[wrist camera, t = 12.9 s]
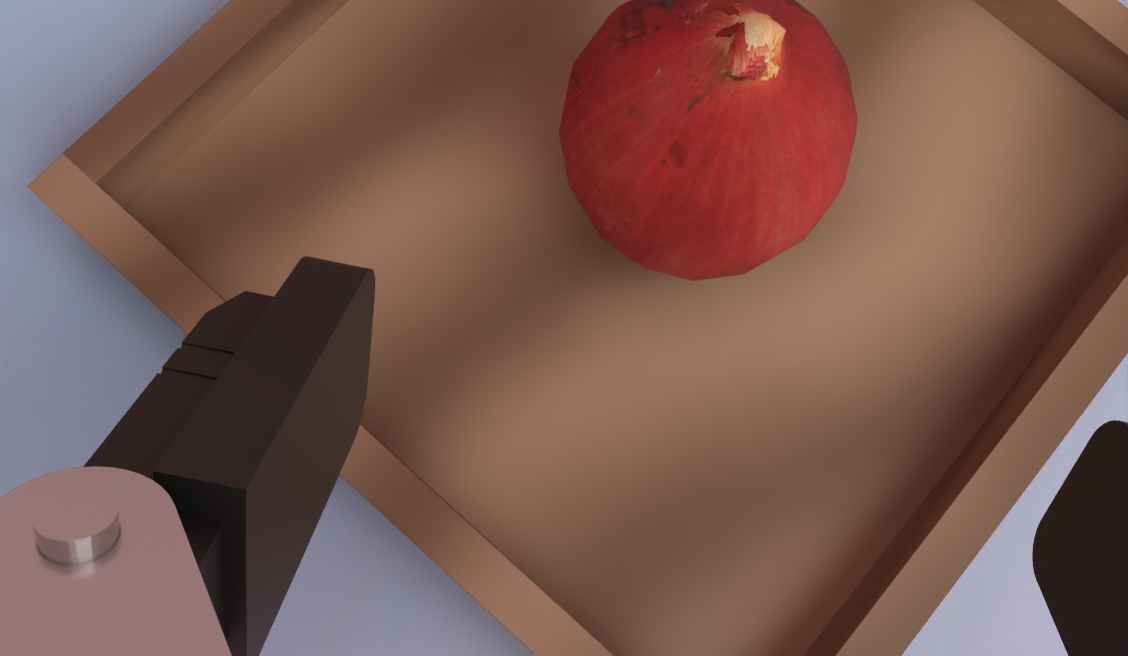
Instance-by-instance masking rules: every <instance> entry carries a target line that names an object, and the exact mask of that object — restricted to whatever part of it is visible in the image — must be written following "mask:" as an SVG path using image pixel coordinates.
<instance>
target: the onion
mask: <svg viewBox="0 0 1128 656" xmlns="http://www.w3.org/2000/svg"><path fill="white" fill-rule="evenodd" d="M857 121H858V117H857V112H856V107H855V101H854V96H853V91H852V86H851V81H850V75H849V70H848V66H847V64H846V62H845V59H844V58H843V56H842V54H841V53H840V51H839V50H838V48H837V47H836V45H835V43H834V42H833V40H832V39H831V37H830V36H829V34H828V32H827V31H826V29H825V28H824V26H823V25H822V23H821V22H820V20H819V18H818V17H816V16H815V15H814V14H812V13H811V12H810V11H809V10H807V9H806V8H805V7H803V6H802V5H801V4H800V3H798V2H797V1H796V0H630V1H628V2H626V3H624V4H622V5H620V6H619V7H617V8H616V9H615V10H614V11H613V12H612V13H611V14H610V15H609V16H608V18H607V19H606V20H605V22H604V23H603V24H602V26H601V27H600V28H599V30H598V31H597V32H596V34H595V35H594V36H593V38H592V39H591V40H590V42H589V43H588V44H587V46H586V47H585V48H584V49H583V51H582V52H581V53H580V55H579V56H578V57H577V59H576V60H575V61H574V63H573V67H572V71H571V74H570V78H569V83H568V88H567V93H566V98H565V103H564V108H563V113H562V118H561V123H560V129H559V137H560V142H561V147H562V152H563V158H564V163H565V168H566V173H567V178H568V183H569V186H570V188H571V190H572V192H573V194H574V196H575V197H576V199H577V201H578V202H579V204H580V205H581V207H582V209H583V210H584V212H585V214H586V215H587V217H588V218H589V220H590V222H591V223H592V225H593V227H594V228H595V230H596V231H597V233H598V235H599V236H600V237H601V238H602V239H603V240H605V241H606V242H608V243H609V244H610V245H612V246H613V247H614V248H616V249H617V250H619V251H620V252H621V253H623V254H624V255H626V256H627V257H628V258H630V259H631V260H633V261H634V262H635V263H637V264H638V265H639V266H641V267H643V268H647V269H650V270H654V271H658V272H661V273H665V274H669V275H672V276H676V277H679V278H683V279H687V280H690V281H698V280H705V279H713V278H720V277H727V276H735V275H742V274H746V273H747V272H749V271H751V270H753V269H754V268H756V267H758V266H760V265H761V264H763V263H765V262H767V261H768V260H770V259H772V258H774V257H775V256H777V255H779V254H781V253H782V252H784V251H786V250H788V249H789V248H791V247H793V246H795V245H796V244H798V243H800V242H802V241H803V240H805V238H806V237H807V236H808V234H809V233H810V232H811V231H812V229H813V228H814V227H815V225H816V224H817V223H818V222H819V220H820V219H821V218H822V216H823V215H824V214H825V213H826V211H827V210H828V209H829V207H830V206H831V205H832V204H833V202H834V201H835V199H836V198H837V196H838V194H839V192H840V191H841V189H842V187H843V185H844V184H845V180H846V176H847V171H848V167H849V163H850V158H851V154H852V150H853V145H854V141H855V137H856V132H857Z"/></svg>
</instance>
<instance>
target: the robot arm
mask: <svg viewBox="0 0 1128 656" xmlns="http://www.w3.org/2000/svg"><path fill="white" fill-rule="evenodd" d="M374 299H375V274H374V271H373V270H372V269H369V268H364V267H359V266H354V265H349V264H344V263H339V262H334V261H329V260H324V259H319V258H314V257H309V256H304V257H302V258H301V259H300V260H299V262H298V263H297V265H296V266H295V267H294V269H293V270H292V272H291V273H290V275H289V276H288V277H287V279H286V280H285V282H284V283H283V285H282V286H281V288H280V289H279V290H278V292H277V293H276V295H275V296H269V295H264V294H259V293H254V292H249V291H244V292H243V293H241V294H239V295H237V296H235V297H233V298H232V299H230V300H228V301H226V302H224V303H222V304H220V305H219V306H217V307H215V308H213V309H211V310H209V311H208V312H206V313H205V314H204V315H203V317H202V318H201V319H200V320H199V322H198V323H197V324H196V326H195V327H194V328H193V329H192V331H191V332H190V333H189V334H188V336H187V337H186V338H185V339H184V341H183V342H182V347H181V349H180V348H177V349H176V351H175V352H174V353H173V355H172V356H171V357H170V358H169V360H168V361H167V362H166V363H165V365H164V366H163V369H162V373H161V374H158V373H157V375H156V376H155V377H154V378H153V380H152V381H151V382H150V384H149V385H148V386H147V387H146V389H145V390H144V391H143V392H142V394H141V395H140V396H139V397H138V399H137V400H136V401H135V402H134V404H133V405H132V406H131V407H130V409H129V410H128V411H127V413H126V414H125V415H124V416H123V418H122V419H121V420H120V421H119V423H118V424H117V425H116V426H115V428H114V429H113V430H112V431H111V433H110V434H109V435H108V436H107V438H106V439H105V440H104V442H103V443H102V444H101V445H100V447H99V448H98V449H97V450H96V452H95V453H94V454H93V455H92V457H91V458H90V459H89V460H88V462H87V463H86V464H85V466H84V467H79V468H72V469H66V470H61V471H57V472H54V473H50V474H46V475H43V476H41V477H38V478H36V479H33V480H30V481H28V482H26V483H24V484H22V485H20V486H19V487H17V488H15V489H13V490H12V491H10V492H9V493H7V494H6V495H4V496H3V497H1V498H0V656H259V654H260V651H261V649H262V647H263V645H264V642H265V640H266V638H267V636H268V634H269V631H270V629H271V627H272V625H273V622H274V620H275V618H276V616H277V613H278V611H279V609H280V607H281V604H282V602H283V600H284V598H285V595H286V593H287V591H288V589H289V586H290V584H291V582H292V580H293V577H294V575H295V573H296V571H297V568H298V566H299V564H300V562H301V559H302V557H303V555H304V553H305V550H306V548H307V546H308V544H309V541H310V539H311V537H312V535H313V532H314V530H315V528H316V526H317V523H318V521H319V519H320V517H321V514H322V512H323V510H324V508H325V505H326V503H327V501H328V499H329V496H330V494H331V492H332V490H333V487H334V485H335V483H336V481H337V479H338V476H339V474H340V472H341V470H342V467H343V465H344V463H345V461H346V458H347V456H348V454H349V452H350V449H351V447H352V445H353V443H354V440H355V438H356V435H357V432H358V429H359V426H360V422H361V418H362V414H363V410H364V405H365V400H366V394H367V386H368V375H369V363H370V350H371V337H372V325H373V312H374ZM1033 569H1034V573H1035V577H1036V580H1037V582H1038V585H1039V587H1040V589H1041V592H1042V594H1043V597H1044V599H1045V601H1046V604H1047V606H1048V608H1049V611H1050V613H1051V616H1052V618H1053V620H1054V623H1055V625H1056V627H1057V630H1058V632H1059V634H1060V637H1061V639H1062V642H1063V644H1064V646H1065V649H1066V651H1067V653H1068V656H1128V423H1127V422H1122V421H1115V420H1114V421H1109V422H1107V423H1105V424H1103V425H1102V426H1100V427H1099V428H1098V429H1097V430H1096V431H1095V433H1094V434H1093V435H1092V437H1091V438H1090V440H1089V442H1088V443H1087V445H1086V447H1085V448H1084V450H1083V452H1082V453H1081V455H1080V457H1079V458H1078V460H1077V462H1076V463H1075V465H1074V466H1073V468H1072V470H1071V471H1070V473H1069V475H1068V476H1067V478H1066V480H1065V481H1064V483H1063V485H1062V486H1061V488H1060V490H1059V491H1058V493H1057V495H1056V496H1055V498H1054V499H1053V501H1052V503H1051V504H1050V506H1049V508H1048V509H1047V511H1046V513H1045V514H1044V516H1043V518H1042V519H1041V521H1040V523H1039V526H1038V528H1037V531H1036V534H1035V538H1034V544H1033Z"/></svg>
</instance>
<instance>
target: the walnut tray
mask: <svg viewBox="0 0 1128 656" xmlns="http://www.w3.org/2000/svg"><path fill="white" fill-rule="evenodd" d="M628 1H630V0H231V1H230V2H229V3H227V4H226V5H225V6H224V7H223V8H222V9H221V10H220V11H219V12H218V13H216V14H215V15H214V16H213V17H212V18H211V19H210V20H209V21H208V22H207V23H205V24H204V25H203V26H202V27H201V28H200V29H199V30H198V31H197V32H196V33H195V34H193V35H192V36H191V37H190V38H189V39H188V40H187V41H186V42H185V43H184V44H182V45H181V46H180V47H179V48H178V49H177V50H176V51H175V52H174V53H173V54H171V55H170V56H169V57H168V58H167V59H166V60H165V61H164V62H163V63H162V64H161V65H159V66H158V67H157V68H156V69H155V70H154V71H153V72H152V73H151V74H150V75H148V76H147V77H146V78H145V79H144V80H143V81H142V82H141V83H140V84H139V85H137V86H136V87H135V88H134V89H133V90H132V91H131V92H130V93H129V94H128V95H127V96H125V97H124V98H123V99H122V100H121V101H120V102H119V103H118V104H117V105H116V106H114V107H113V108H112V109H111V110H110V111H109V112H108V113H107V114H106V115H105V116H103V117H102V118H101V119H100V120H99V121H98V122H97V123H96V124H95V125H94V126H93V127H91V128H90V129H89V130H88V131H87V132H86V133H85V134H84V135H83V136H82V137H80V138H79V139H78V140H77V141H76V142H75V143H74V144H73V145H72V146H71V147H69V148H68V149H67V150H66V151H65V152H64V153H63V154H62V155H61V156H60V157H59V158H57V159H56V160H55V161H54V162H53V163H52V164H51V165H50V166H49V167H48V168H46V169H45V170H44V171H43V172H42V173H41V174H40V175H39V176H38V177H37V178H35V179H34V180H33V181H32V182H31V183H30V184H29V185H28V186H27V187H28V188H29V189H30V190H32V191H33V192H34V193H35V194H36V195H37V196H38V197H39V198H40V199H41V200H42V201H43V202H45V203H46V204H47V205H48V206H49V207H50V208H51V209H52V210H53V211H54V212H55V213H56V214H58V215H59V216H60V217H61V218H62V219H63V220H64V221H65V222H66V223H67V224H68V225H70V226H71V227H72V228H73V229H74V230H75V231H76V232H77V233H78V234H79V235H80V236H81V237H83V238H84V239H85V240H86V241H87V242H88V243H89V244H90V245H91V246H92V247H93V248H94V249H96V250H97V251H98V252H99V253H100V254H101V255H102V256H103V257H104V258H105V259H106V260H107V261H109V262H110V263H111V264H112V265H113V266H114V267H115V268H116V269H117V270H118V271H119V272H121V273H122V274H123V275H124V276H125V277H126V278H127V279H128V280H129V281H130V282H131V283H132V284H134V285H135V286H136V287H137V288H138V289H139V290H140V291H141V292H142V293H143V294H144V295H145V296H147V297H148V298H149V299H150V300H151V301H152V302H153V303H154V304H155V305H156V306H157V307H158V308H160V309H161V310H162V311H163V312H164V313H165V314H166V315H167V316H168V317H169V318H170V319H172V320H173V321H174V322H175V323H176V324H177V325H178V326H179V327H180V328H181V329H182V330H183V331H185V332H186V333H187V334H189V333H190V332H191V331H192V329H193V328H194V327H195V326H196V324H197V323H198V322H199V320H200V319H201V318H202V317H203V315H204V314H205V313H206V312H208V311H209V310H211V309H213V308H215V307H217V306H219V305H220V304H222V303H224V302H226V301H228V300H230V299H232V298H233V297H235V296H237V295H239V294H241V293H243V292H244V291H249V292H254V293H259V294H264V295H269V296H275V295H276V293H277V292H278V290H279V289H280V288H281V286H282V285H283V283H284V282H285V280H286V279H287V277H288V276H289V275H290V273H291V272H292V270H293V269H294V267H295V266H296V265H297V263H298V262H299V260H300V259H301V258H302V257H304V256H309V257H314V258H319V259H324V260H329V261H334V262H339V263H344V264H349V265H354V266H359V267H364V268H369V269H372V270H373V271H374V274H375V299H374V312H373V325H372V337H371V350H370V363H369V375H368V386H367V394H366V400H365V405H364V410H363V414H362V418H361V422H360V426H359V429H358V432H357V435H356V438H355V440H354V443H353V445H352V447H351V449H350V452H349V454H348V456H347V458H346V461H345V463H344V465H343V467H342V470H341V472H340V475H341V476H342V477H343V478H344V479H345V480H346V481H347V482H348V483H349V484H351V485H352V486H353V487H354V488H355V489H356V490H357V491H358V492H359V493H360V494H361V495H362V496H364V497H365V498H366V499H367V500H368V501H369V502H370V503H371V504H372V505H373V506H374V507H376V508H377V509H378V510H379V511H380V512H381V513H382V514H383V515H384V516H385V517H386V518H387V519H389V520H390V521H391V522H392V523H393V524H394V525H395V526H396V527H397V528H398V529H399V530H400V531H402V532H403V533H404V534H405V535H406V536H407V537H408V538H409V539H410V540H411V541H412V542H413V543H415V544H416V545H417V546H418V547H419V548H420V549H421V550H422V551H423V552H424V553H425V554H427V555H428V556H429V557H430V558H431V559H432V560H433V561H434V562H435V563H436V564H437V565H438V566H440V567H441V568H442V569H443V570H444V571H445V572H446V573H447V574H448V575H449V576H450V577H451V578H453V579H454V580H455V581H456V582H457V583H458V584H459V585H460V586H461V587H462V588H463V589H464V590H466V591H467V592H468V593H469V594H470V595H471V596H472V597H473V598H474V599H475V600H476V601H478V602H479V603H480V604H481V605H482V606H483V607H484V608H485V609H486V610H487V611H488V612H489V613H491V614H492V615H493V616H494V617H495V618H496V619H497V620H498V621H499V622H500V623H501V624H502V625H504V626H505V627H506V628H507V629H508V630H509V631H510V632H511V633H512V634H513V635H514V636H515V637H517V638H518V639H519V640H520V641H521V642H522V643H523V644H524V645H525V646H526V647H527V648H529V649H530V650H531V651H532V652H533V653H534V654H535V655H536V656H901V655H902V654H903V652H904V651H905V650H906V648H907V647H908V646H909V644H910V643H911V642H912V640H913V639H914V638H915V636H916V635H917V634H918V632H919V631H920V630H921V628H922V627H923V626H924V624H925V623H926V622H927V620H928V619H929V618H930V616H931V615H932V614H933V612H934V611H935V610H936V608H937V607H938V606H939V604H940V603H941V602H942V600H943V599H944V598H945V596H946V595H947V594H948V592H949V591H950V590H951V588H952V587H953V586H954V584H955V583H956V582H957V580H958V579H959V578H960V576H961V575H962V574H963V572H964V571H965V570H966V568H967V567H968V566H969V564H970V563H971V562H972V560H973V559H974V558H975V556H976V555H977V554H978V552H979V551H980V550H981V548H982V547H983V546H984V544H985V543H986V542H987V540H988V539H989V538H990V536H991V535H992V534H993V532H994V531H995V530H996V528H997V527H998V526H999V524H1000V523H1001V522H1002V520H1003V519H1004V518H1005V516H1006V515H1007V513H1008V512H1009V511H1010V509H1011V508H1012V507H1013V505H1014V504H1015V503H1016V501H1017V500H1018V499H1019V497H1020V496H1021V495H1022V493H1023V492H1024V491H1025V489H1026V488H1027V487H1028V485H1029V484H1030V483H1031V481H1032V480H1033V479H1034V477H1035V476H1036V475H1037V473H1038V472H1039V471H1040V469H1041V468H1042V467H1043V465H1044V464H1045V463H1046V461H1047V460H1048V459H1049V457H1050V456H1051V455H1052V453H1053V452H1054V451H1055V449H1056V448H1057V447H1058V445H1059V444H1060V443H1061V441H1062V440H1063V439H1064V437H1065V436H1066V435H1067V433H1068V432H1069V431H1070V429H1071V428H1072V427H1073V425H1074V424H1075V423H1076V421H1077V420H1078V419H1079V417H1080V416H1081V415H1082V413H1083V412H1084V411H1085V409H1086V408H1087V407H1088V405H1089V404H1090V403H1091V401H1092V400H1093V399H1094V397H1095V396H1096V395H1097V393H1098V392H1099V391H1100V389H1101V388H1102V387H1103V385H1104V384H1105V383H1106V381H1107V380H1108V379H1109V377H1110V376H1111V375H1112V373H1113V372H1114V371H1115V369H1116V368H1117V367H1118V365H1119V364H1120V363H1121V361H1122V360H1123V359H1124V357H1125V356H1126V355H1127V353H1128V8H1127V7H1125V6H1124V5H1123V4H1121V3H1120V2H1119V1H1117V0H796V1H797V2H798V3H800V4H801V5H802V6H803V7H805V8H806V9H807V10H809V11H810V12H811V13H812V14H814V15H815V16H816V17H818V18H819V20H820V22H821V23H822V25H823V26H824V28H825V29H826V31H827V32H828V34H829V36H830V37H831V39H832V40H833V42H834V43H835V45H836V47H837V48H838V50H839V51H840V53H841V54H842V56H843V58H844V59H845V62H846V64H847V66H848V70H849V75H850V81H851V86H852V91H853V96H854V101H855V107H856V112H857V117H858V121H857V132H856V137H855V141H854V145H853V150H852V154H851V158H850V163H849V167H848V171H847V176H846V180H845V184H844V185H843V187H842V189H841V191H840V192H839V194H838V196H837V198H836V199H835V201H834V202H833V204H832V205H831V206H830V207H829V209H828V210H827V211H826V213H825V214H824V215H823V216H822V218H821V219H820V220H819V222H818V223H817V224H816V225H815V227H814V228H813V229H812V231H811V232H810V233H809V234H808V236H807V237H806V238H805V240H803V241H802V242H800V243H798V244H796V245H795V246H793V247H791V248H789V249H788V250H786V251H784V252H782V253H781V254H779V255H777V256H775V257H774V258H772V259H770V260H768V261H767V262H765V263H763V264H761V265H760V266H758V267H756V268H754V269H753V270H751V271H749V272H747V273H746V274H742V275H735V276H727V277H720V278H713V279H705V280H698V281H690V280H687V279H683V278H679V277H676V276H672V275H669V274H665V273H661V272H658V271H654V270H650V269H647V268H643V267H641V266H639V265H638V264H637V263H635V262H634V261H633V260H631V259H630V258H628V257H627V256H626V255H624V254H623V253H621V252H620V251H619V250H617V249H616V248H614V247H613V246H612V245H610V244H609V243H608V242H606V241H605V240H603V239H602V238H601V237H600V236H599V235H598V233H597V231H596V230H595V228H594V227H593V225H592V223H591V222H590V220H589V218H588V217H587V215H586V214H585V212H584V210H583V209H582V207H581V205H580V204H579V202H578V201H577V199H576V197H575V196H574V194H573V192H572V190H571V188H570V186H569V183H568V178H567V173H566V168H565V163H564V158H563V152H562V147H561V142H560V137H559V129H560V123H561V118H562V113H563V108H564V103H565V98H566V93H567V88H568V83H569V78H570V74H571V71H572V67H573V63H574V61H575V60H576V59H577V57H578V56H579V55H580V53H581V52H582V51H583V49H584V48H585V47H586V46H587V44H588V43H589V42H590V40H591V39H592V38H593V36H594V35H595V34H596V32H597V31H598V30H599V28H600V27H601V26H602V24H603V23H604V22H605V20H606V19H607V18H608V16H609V15H610V14H611V13H612V12H613V11H614V10H615V9H616V8H617V7H619V6H620V5H622V4H624V3H626V2H628Z"/></svg>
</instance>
